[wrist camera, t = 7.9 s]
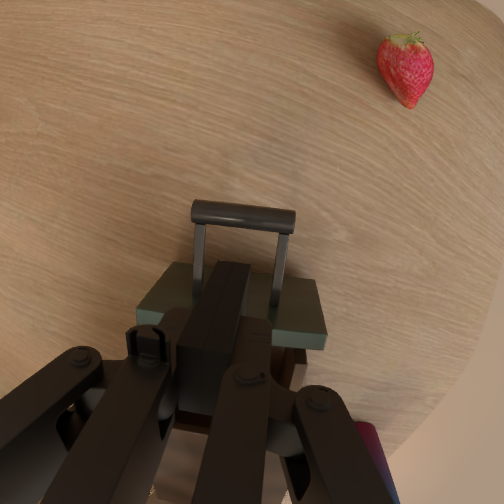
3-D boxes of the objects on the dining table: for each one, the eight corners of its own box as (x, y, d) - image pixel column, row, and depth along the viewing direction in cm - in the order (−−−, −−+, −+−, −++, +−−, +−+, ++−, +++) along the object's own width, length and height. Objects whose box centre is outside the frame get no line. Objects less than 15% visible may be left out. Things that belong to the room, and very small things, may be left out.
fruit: (376, 110, 21) (399, 104, 17) (364, 38, 20) (383, 17, 15) (425, 110, 21) (455, 106, 16) (413, 40, 19) (439, 23, 14)
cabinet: (170, 349, 30) (136, 420, 21) (300, 367, 29) (305, 445, 20) (176, 437, 35) (156, 498, 26) (277, 452, 34) (275, 516, 25)
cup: (340, 456, 34) (351, 556, 20) (317, 431, 32) (325, 546, 18) (389, 436, 32) (414, 536, 18) (372, 408, 31) (400, 524, 17)
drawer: (175, 184, 24) (132, 205, 16) (328, 201, 23) (351, 230, 16) (175, 385, 30) (152, 442, 23) (287, 400, 30) (288, 462, 23)
